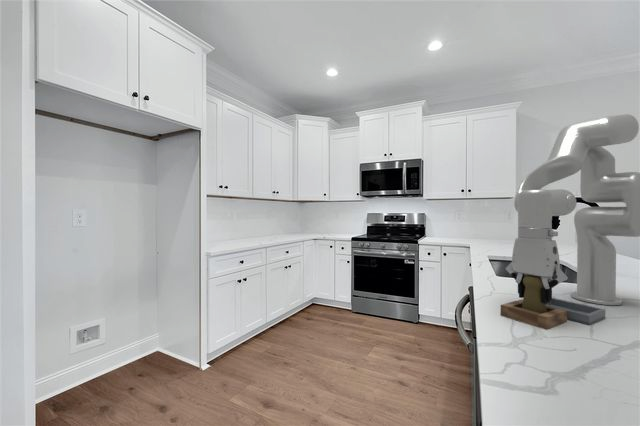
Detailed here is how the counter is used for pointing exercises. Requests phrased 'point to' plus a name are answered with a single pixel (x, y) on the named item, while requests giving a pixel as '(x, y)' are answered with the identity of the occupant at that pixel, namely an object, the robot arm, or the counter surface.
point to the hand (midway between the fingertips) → (534, 299)
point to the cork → (533, 294)
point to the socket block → (534, 315)
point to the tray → (579, 311)
